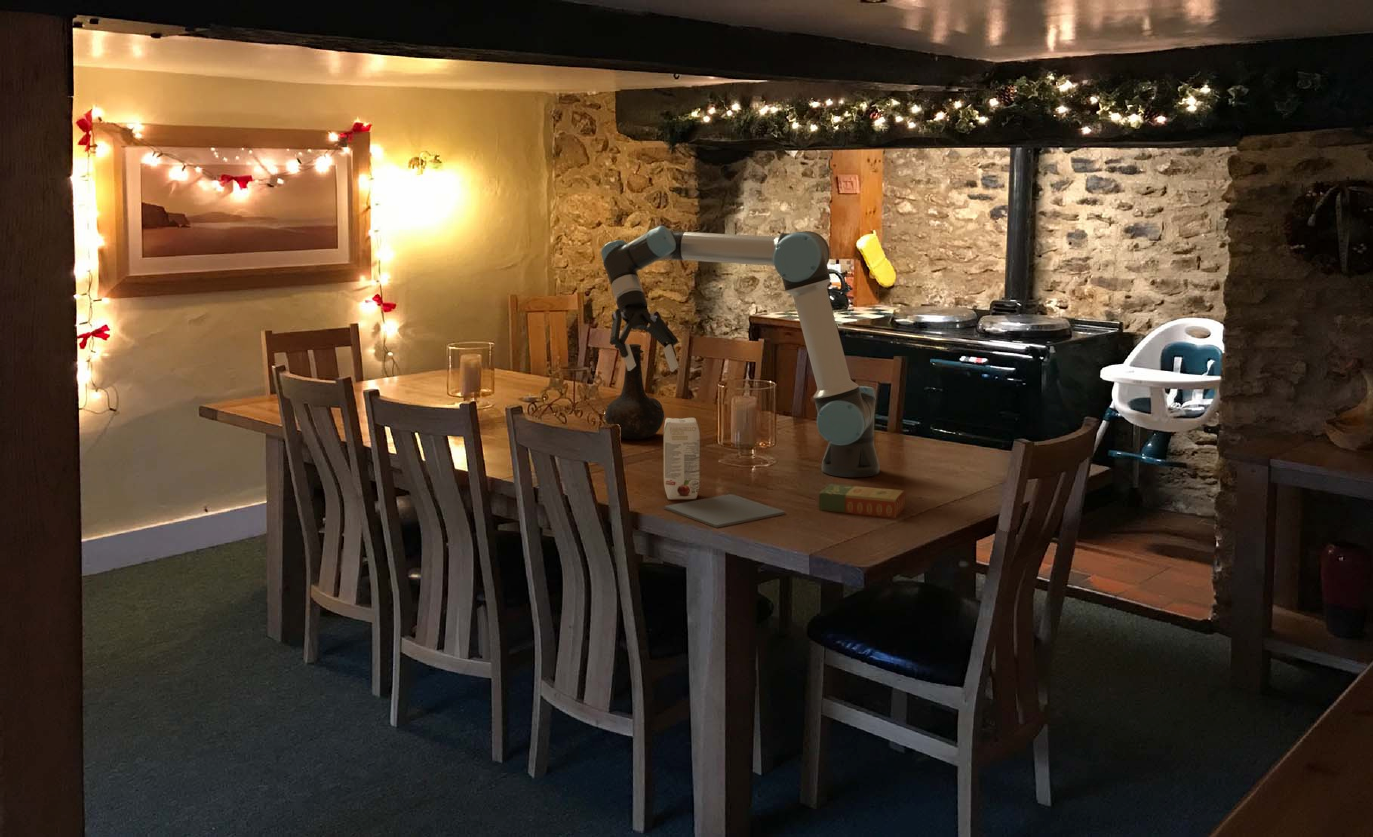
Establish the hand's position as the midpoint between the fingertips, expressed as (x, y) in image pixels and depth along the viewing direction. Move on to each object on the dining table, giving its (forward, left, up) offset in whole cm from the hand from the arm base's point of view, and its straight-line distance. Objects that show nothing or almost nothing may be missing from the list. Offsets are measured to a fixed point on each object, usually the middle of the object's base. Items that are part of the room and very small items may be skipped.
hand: (653, 368), depth 302 cm
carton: (-56, +5, -30) cm, 64 cm away
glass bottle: (+29, -48, -29) cm, 63 cm away
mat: (-28, +20, -29) cm, 45 cm away
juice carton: (-13, +12, -29) cm, 34 cm away
